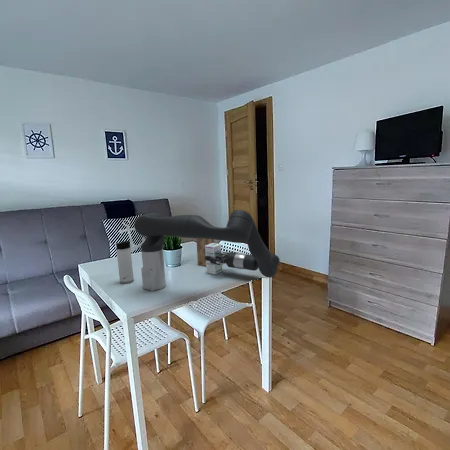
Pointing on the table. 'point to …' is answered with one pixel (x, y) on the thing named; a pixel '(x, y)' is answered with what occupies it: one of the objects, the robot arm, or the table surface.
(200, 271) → the table surface
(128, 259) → the travel mug
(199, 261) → the board
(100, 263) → the table surface
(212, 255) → the syrup box
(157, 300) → the table surface
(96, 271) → the table surface
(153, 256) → the robot arm
